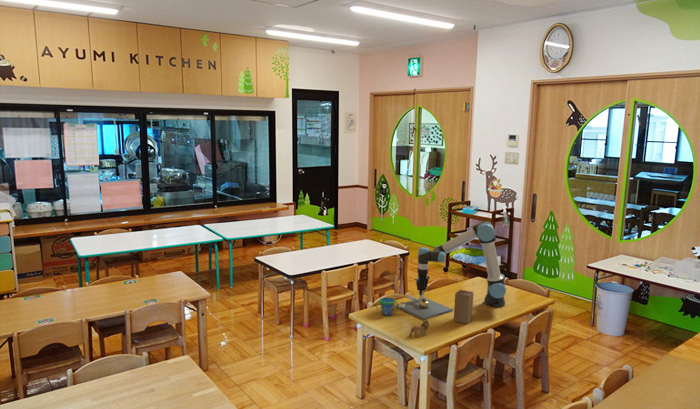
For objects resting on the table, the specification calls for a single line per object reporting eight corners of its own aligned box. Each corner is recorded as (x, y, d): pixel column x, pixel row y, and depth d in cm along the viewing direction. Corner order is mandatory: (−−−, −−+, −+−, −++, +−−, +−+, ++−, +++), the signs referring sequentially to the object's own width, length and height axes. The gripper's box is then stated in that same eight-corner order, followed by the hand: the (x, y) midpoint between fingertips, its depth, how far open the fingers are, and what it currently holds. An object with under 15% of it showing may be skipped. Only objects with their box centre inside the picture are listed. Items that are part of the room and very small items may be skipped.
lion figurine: (425, 331, 316) (425, 318, 314) (430, 334, 311) (431, 321, 310) (407, 336, 308) (407, 322, 307) (412, 339, 304) (412, 325, 302)
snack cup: (376, 316, 338) (376, 302, 337) (375, 310, 349) (376, 297, 347) (398, 317, 338) (399, 302, 337) (397, 311, 349) (398, 297, 347)
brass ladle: (430, 307, 353) (431, 299, 352) (423, 309, 349) (424, 301, 348) (410, 298, 370) (410, 291, 369) (403, 300, 366) (403, 293, 365)
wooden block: (467, 324, 328) (469, 296, 324) (453, 321, 333) (454, 293, 330) (472, 319, 336) (474, 291, 333) (458, 316, 341) (459, 289, 338)
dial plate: (452, 311, 351) (452, 308, 351) (422, 320, 333) (422, 318, 333) (422, 298, 375) (422, 296, 375) (393, 306, 357) (393, 304, 357)
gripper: (425, 265, 369) (424, 295, 373) (412, 268, 361) (411, 299, 365) (432, 268, 363) (431, 298, 367) (420, 271, 355) (418, 302, 359)
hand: (421, 299), depth 366 cm, fingers closed
